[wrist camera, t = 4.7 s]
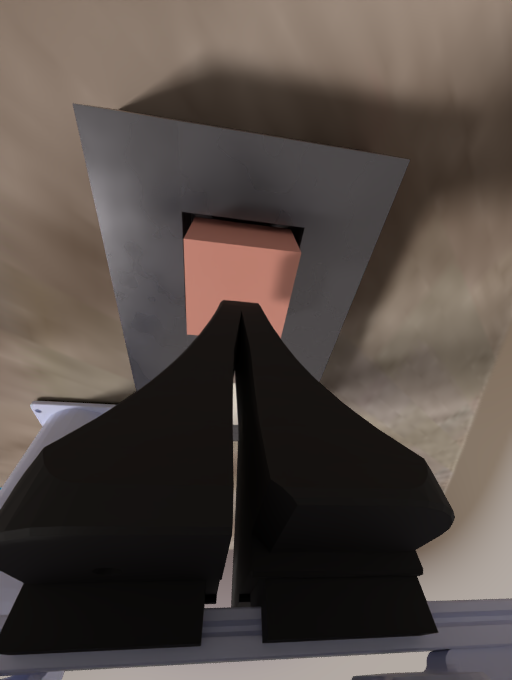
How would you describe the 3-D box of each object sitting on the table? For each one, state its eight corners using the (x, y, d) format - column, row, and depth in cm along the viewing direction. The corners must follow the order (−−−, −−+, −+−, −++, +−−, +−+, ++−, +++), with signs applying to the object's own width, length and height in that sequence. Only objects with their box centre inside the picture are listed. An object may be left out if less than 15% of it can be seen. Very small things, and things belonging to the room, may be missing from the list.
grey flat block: (288, 404, 26) (294, 443, 22) (159, 397, 24) (146, 437, 21) (370, 151, 13) (410, 159, 10) (117, 109, 12) (72, 103, 9)
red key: (274, 308, 15) (279, 341, 13) (195, 301, 15) (187, 334, 12) (290, 229, 12) (301, 252, 10) (194, 216, 12) (183, 238, 10)
